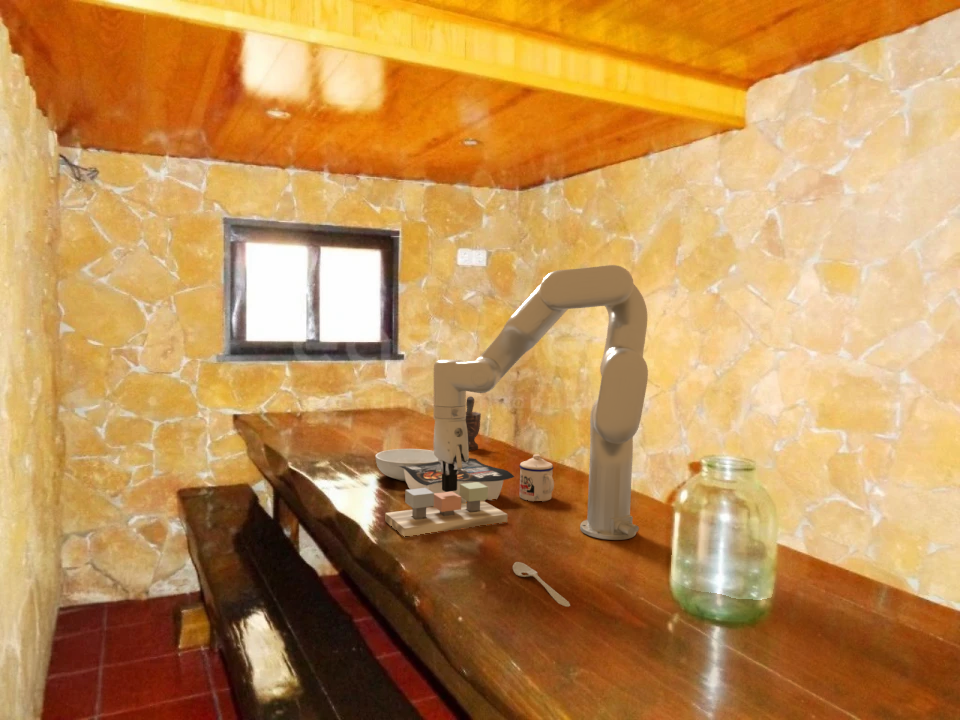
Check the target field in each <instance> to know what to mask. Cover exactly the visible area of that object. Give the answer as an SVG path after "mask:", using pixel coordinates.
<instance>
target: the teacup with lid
mask: <svg viewBox="0 0 960 720" xmlns="http://www.w3.org/2000/svg"><path fill="white" fill-rule="evenodd" d="M519 468H520V472H519V498H520V499H522V500H525V501H527V500H528V502H534V501H542V502H547V501H549V500H552V495H553V491H554V486H555V481H554V479H553V469H554V465H553V463H551V462H549V461H547V460H546V459H543V458H542V457H541V455H540V454H538V453H537V454H535V453H534V454H533V456H532V457H531V458H529V459H527V460H525V461H522V462H520V464H519Z"/></svg>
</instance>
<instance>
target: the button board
mask: <svg viewBox="0 0 960 720" xmlns="http://www.w3.org/2000/svg"><path fill="white" fill-rule="evenodd" d="M466 507H467V503H461V510H454V515H448V516H443V515H441V514H440V511H439V510H438V509H436V508H435V507H433V506H430V507H426V517H423V518H415V517H414V516H412V509H406V510H400V511H399V510H398V511H391V512H385V515H384V516H385V518H384V519H385V523H387V524H388V525H389V526H390V527H391V526H392V527H391V528H392V529H393V530H395V531H396V530H397V531H398V532H399V534H400V536H402V535H403V536H404V537H403V536H402V537H403V538H406V537H405V536H410V537H414V536H413V535H417V536H421V535H420V534H424V535H426V534H425V533H430V534H432V533H431V532H437V533H439V532H438V531H444V532H449V531H448V530H451V531H455V530H454V529H458V530H462V529H461V528H465V529H470V528H469V527H472V528H476V527H475V526H479V527H481V526H480V525H486V526H488V525H487V524H492V525H495V524H494V523H499V524H503V523H502V522H506V523H508V513H506V512H504V511H503V510H501V509H499V508H497V507H495V506H493V505H492V504H490V503H488V502H486V500H485V501H480V510H476V511H470V510H468V509H467V508H466ZM397 531H396V532H397Z"/></svg>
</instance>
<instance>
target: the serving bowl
mask: <svg viewBox="0 0 960 720" xmlns="http://www.w3.org/2000/svg"><path fill="white" fill-rule="evenodd" d="M374 457H375V462H376V466H377V468H378V469H379V471H380V472H381V473H382V474H384V475H385V476H387V477H389V478H391V479H394V480H395V479H396V480H397V481H402V482H406V480H405V474H404V469H403V468H402V467H399V466H415V465H422V464H428V463H433V462H439V461H438V458H437V457H436V456H435V455H434V450H432V449H431V450H429V449H420V448H396V449H388V450H383V451H380V452H378V453H376V454H375V456H374Z"/></svg>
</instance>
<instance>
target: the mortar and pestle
mask: <svg viewBox="0 0 960 720" xmlns="http://www.w3.org/2000/svg"><path fill="white" fill-rule="evenodd" d="M474 406H475V397H473V396H467V397H466V419H465V420H466V425H467V433H468V451H476V450H478V449H479V444H478V443H476V437H477V436H478V435H479V433H480V428H481V418H482V417H481V415H482V413H481V412H478V411H473V410H474Z"/></svg>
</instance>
